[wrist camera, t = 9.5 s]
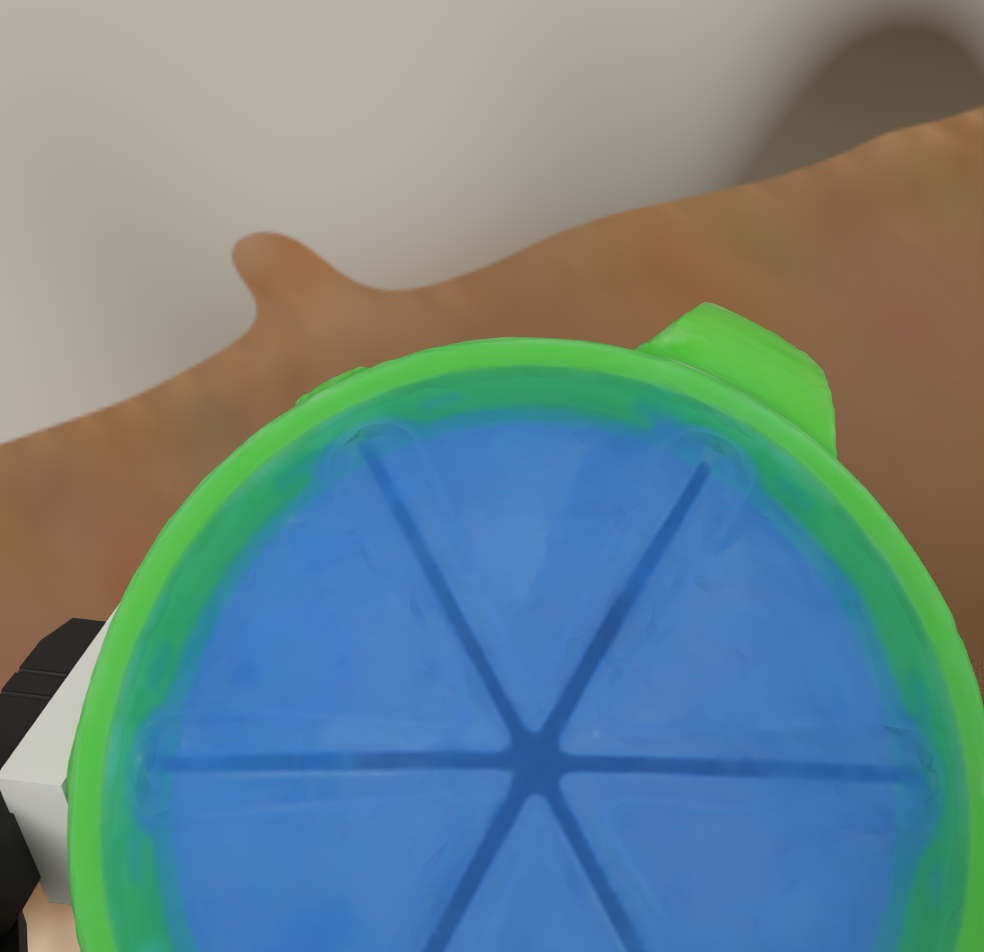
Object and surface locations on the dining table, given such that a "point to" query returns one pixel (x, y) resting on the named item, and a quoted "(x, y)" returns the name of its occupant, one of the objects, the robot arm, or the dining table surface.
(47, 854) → the robot arm
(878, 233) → the dining table surface
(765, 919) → the snack cup
